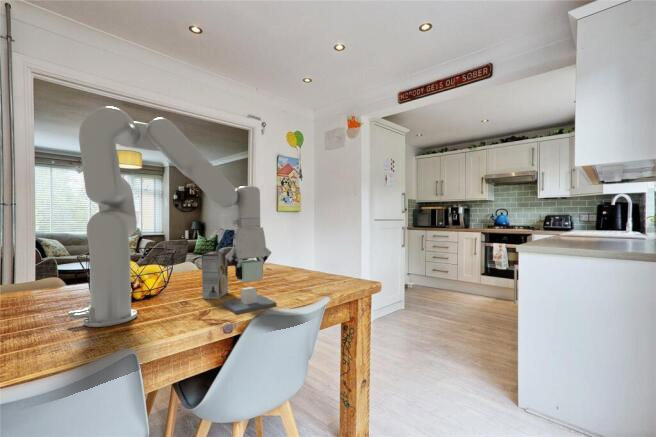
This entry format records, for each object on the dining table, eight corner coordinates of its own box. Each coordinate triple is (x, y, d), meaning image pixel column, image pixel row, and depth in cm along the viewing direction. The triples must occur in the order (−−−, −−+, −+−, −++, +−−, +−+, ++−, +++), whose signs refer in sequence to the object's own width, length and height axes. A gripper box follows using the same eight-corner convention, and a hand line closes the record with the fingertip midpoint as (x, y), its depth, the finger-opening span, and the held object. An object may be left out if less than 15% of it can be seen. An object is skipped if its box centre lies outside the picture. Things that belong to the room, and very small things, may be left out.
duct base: (235, 314, 92) (235, 296, 92) (221, 304, 102) (221, 288, 102) (276, 305, 101) (276, 289, 101) (260, 297, 111) (260, 282, 110)
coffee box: (212, 292, 118) (211, 251, 118) (228, 292, 118) (228, 251, 118) (201, 299, 109) (201, 254, 109) (219, 299, 109) (219, 254, 109)
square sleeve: (244, 282, 97) (244, 263, 97) (236, 279, 102) (236, 261, 102) (262, 279, 101) (262, 261, 101) (254, 276, 106) (254, 259, 106)
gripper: (226, 224, 93) (227, 283, 93) (277, 223, 103) (278, 275, 104) (218, 224, 99) (219, 279, 99) (267, 222, 109) (268, 272, 110)
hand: (249, 276), depth 101 cm, fingers closed on square sleeve, 6 cm apart
